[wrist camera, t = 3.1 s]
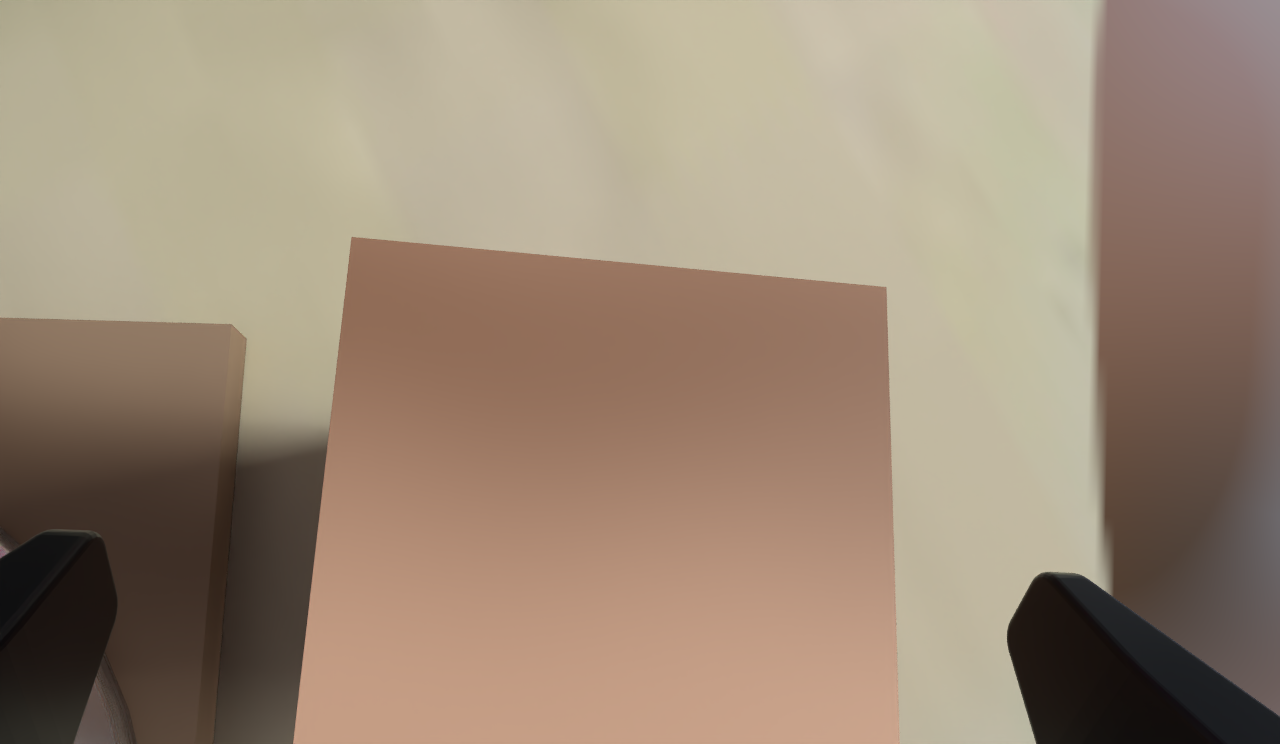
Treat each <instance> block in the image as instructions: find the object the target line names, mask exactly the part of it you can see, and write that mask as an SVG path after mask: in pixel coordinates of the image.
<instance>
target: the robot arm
mask: <svg viewBox="0 0 1280 744" xmlns="http://www.w3.org/2000/svg"><path fill="white" fill-rule="evenodd" d="M117 608H118V597H117V591H116V587H115V583H114V579H113V575H112V570H111V566H110V562H109V558H108V554H107V550H106V546H105V543H104V540H103V538H102V537H101V536H100V534H98V533H97V532H94V531H90V530H67V529H50V530H46V531H43V532H41V533H39V534H37V535H35V536H34V537H32V538H31V539H29V540H28V541H26V542H24V543H23V544H21V545H20V546H18V547H17V548H15V549H14V550H12V551H10V552H9V553H7V554H6V555H4V556H3V557H1V558H0V744H74V741H75V738H76V735H77V732H78V729H79V726H80V723H81V720H82V717H83V714H84V711H85V709H86V706H87V703H88V700H89V697H90V694H91V691H92V688H93V685H94V682H95V679H96V676H97V673H98V670H99V668H100V665H101V662H102V659H103V656H104V653H105V650H106V647H107V644H108V641H109V638H110V635H111V632H112V629H113V627H114V623H115V620H116V615H117ZM1007 644H1008V649H1009V653H1010V657H1011V660H1012V663H1013V667H1014V670H1015V673H1016V677H1017V680H1018V684H1019V687H1020V690H1021V694H1022V697H1023V700H1024V704H1025V707H1026V711H1027V714H1028V717H1029V721H1030V724H1031V728H1032V731H1033V734H1034V738H1035V741H1036V744H1280V716H1278V715H1277V714H1276V713H1274V712H1273V711H1271V710H1270V709H1269V708H1267V707H1266V706H1265V705H1263V704H1262V703H1260V702H1259V701H1257V700H1256V699H1255V698H1253V697H1252V696H1251V695H1249V694H1248V693H1246V692H1245V691H1244V690H1242V689H1241V688H1239V687H1238V686H1237V685H1235V684H1234V683H1232V682H1231V681H1230V680H1228V679H1227V678H1225V677H1224V676H1223V675H1221V674H1220V673H1218V672H1217V671H1216V670H1214V669H1213V668H1211V667H1210V666H1209V665H1207V664H1206V663H1204V662H1203V661H1201V660H1200V659H1199V658H1197V657H1196V656H1195V655H1193V654H1192V653H1190V652H1189V651H1188V650H1186V649H1185V648H1183V647H1182V646H1181V645H1179V644H1178V643H1176V642H1175V641H1173V640H1172V639H1171V638H1170V637H1168V636H1167V635H1165V634H1164V633H1163V632H1161V631H1160V630H1158V629H1157V628H1155V627H1154V626H1153V625H1151V624H1150V623H1148V622H1147V621H1146V620H1144V619H1143V618H1141V617H1140V616H1139V615H1137V614H1136V613H1134V612H1133V611H1132V610H1130V609H1129V608H1128V607H1126V606H1125V605H1123V604H1122V603H1120V602H1119V601H1118V600H1116V599H1115V598H1114V597H1112V596H1111V595H1109V594H1108V593H1107V592H1105V591H1104V590H1102V589H1101V588H1100V587H1098V586H1097V585H1096V584H1094V583H1093V582H1091V581H1090V580H1089V579H1087V578H1085V577H1084V576H1082V575H1079V574H1075V573H1059V572H1044V573H1041V574H1039V575H1038V576H1036V577H1035V578H1034V580H1033V581H1032V583H1031V584H1030V586H1029V588H1028V590H1027V592H1026V593H1025V595H1024V597H1023V599H1022V601H1021V603H1020V604H1019V606H1018V608H1017V610H1016V612H1015V614H1014V615H1013V617H1012V619H1011V621H1010V623H1009V626H1008V630H1007Z"/></svg>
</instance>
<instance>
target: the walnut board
mask: <svg viewBox="0 0 1280 744" xmlns="http://www.w3.org/2000/svg"><path fill="white" fill-rule="evenodd" d="M245 351H246V338H245V337H244V336H243V335H242V334H241V333H240V332H239V331H238V330H237V329H236V328H235V327H234V326H233V325H232V324H201V323H166V322H131V321H95V320H60V319H25V318H0V527H2V528H3V529H4V530H5V531H6V532H7V533H8V534H9V535H11V536H12V537H13V538H14V539H15V540H16V541H17V542H18V543H19V544H23V543H24V542H26V541H28V540H29V539H31V538H32V537H34V536H35V535H37V534H39V533H41V532H43V531H46V530H50V529H67V530H90V531H94V532H97V533H98V534H100V536H101V537H102V538H103V540H104V543H105V546H106V550H107V554H108V558H109V562H110V566H111V570H112V575H113V579H114V583H115V587H116V591H117V597H118V608H117V615H116V620H115V623H114V627H113V629H112V632H111V635H110V638H109V641H108V644H107V647H106V650H105V653H106V655H107V657H108V660H109V662H110V665H111V667H112V669H113V672H114V674H115V677H116V679H117V682H118V684H119V686H120V689H121V691H122V694H123V696H124V698H125V701H126V703H127V706H128V708H129V712H130V716H131V720H132V724H133V728H134V732H135V736H136V740H137V744H213V739H214V727H215V714H216V702H217V690H218V678H219V666H220V654H221V642H222V630H223V617H224V605H225V593H226V581H227V569H228V557H229V545H230V533H231V520H232V508H233V496H234V484H235V472H236V460H237V448H238V436H239V423H240V411H241V399H242V387H243V375H244V363H245Z"/></svg>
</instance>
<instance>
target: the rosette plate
mask: <svg viewBox="0 0 1280 744" xmlns="http://www.w3.org/2000/svg"><path fill="white" fill-rule="evenodd" d="M20 545H21V544H19V543H18V542H17V541H16V540H15V539H14V538H13V537H12V536H11V535H9V534H8V533H7V532H6V531H5V530H4V529H3V528H2V527H0V558H1V557H3V556H4V555H6V554H7V553H9V552H10V551H12V550H14V549H15V548H17V547H18V546H20ZM74 744H137V740H136V736H135V732H134V728H133V724H132V720H131V716H130V712H129V708H128V706H127V703H126V701H125V698H124V696H123V694H122V691H121V689H120V686H119V684H118V682H117V679H116V677H115V674H114V672H113V669H112V667H111V665H110V662H109V660H108V657H107V655H106V653H104V656H103V659H102V662H101V665H100V668H99V670H98V673H97V676H96V679H95V682H94V685H93V688H92V691H91V694H90V697H89V700H88V703H87V706H86V709H85V711H84V714H83V717H82V720H81V723H80V726H79V729H78V732H77V735H76V738H75V741H74Z"/></svg>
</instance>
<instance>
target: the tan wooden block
mask: <svg viewBox="0 0 1280 744" xmlns="http://www.w3.org/2000/svg"><path fill="white" fill-rule="evenodd" d="M293 744H900V742H899V708H898V673H897V638H896V604H895V569H894V535H893V500H892V466H891V431H890V397H889V362H888V327H887V293H886V287H878V286H868V285H857V284H847V283H836V282H825V281H815V280H804V279H793V278H783V277H772V276H761V275H751V274H740V273H729V272H719V271H708V270H697V269H687V268H676V267H665V266H655V265H644V264H633V263H623V262H612V261H601V260H591V259H580V258H569V257H559V256H548V255H537V254H527V253H516V252H505V251H495V250H484V249H473V248H463V247H452V246H441V245H431V244H420V243H409V242H399V241H388V240H377V239H367V238H356V237H352V238H351V247H350V256H349V264H348V273H347V282H346V290H345V299H344V308H343V316H342V325H341V334H340V342H339V351H338V360H337V368H336V377H335V385H334V394H333V403H332V411H331V420H330V429H329V437H328V446H327V455H326V463H325V472H324V481H323V489H322V498H321V507H320V515H319V524H318V533H317V541H316V550H315V558H314V567H313V576H312V584H311V593H310V602H309V610H308V619H307V628H306V636H305V645H304V654H303V662H302V671H301V680H300V688H299V697H298V706H297V714H296V723H295V731H294V740H293Z"/></svg>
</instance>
